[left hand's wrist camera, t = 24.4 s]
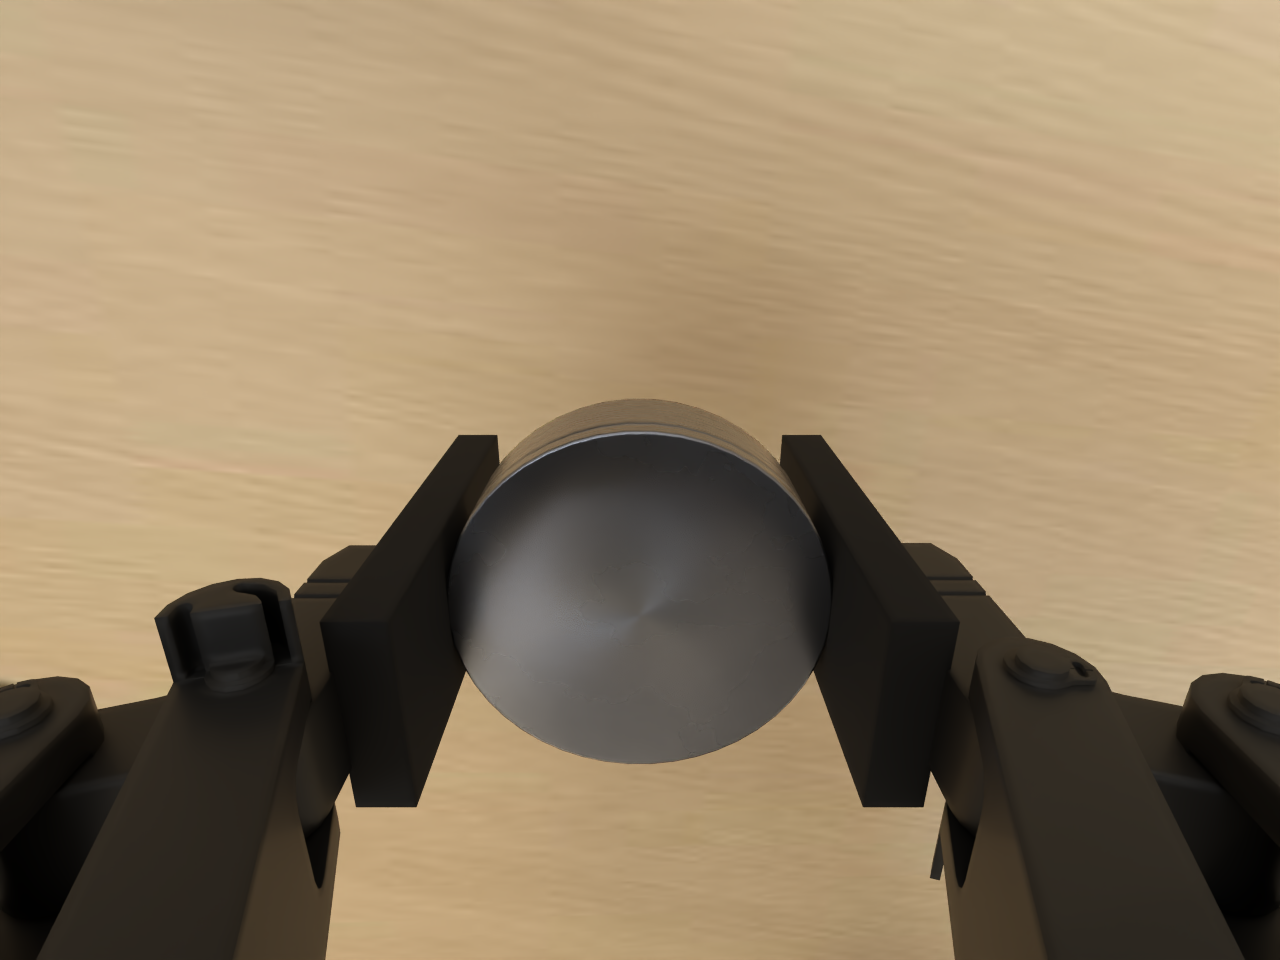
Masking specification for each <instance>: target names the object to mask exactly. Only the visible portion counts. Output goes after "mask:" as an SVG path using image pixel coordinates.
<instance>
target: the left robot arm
mask: <svg viewBox="0 0 1280 960" xmlns="http://www.w3.org/2000/svg"><path fill="white" fill-rule="evenodd" d="M499 465H500V463H499V450H498V438H497V435H458V437H457V438H456V439H455V441H454V442H453V443H452V445H451V446H450V448H449V449H448V450H447V452H446V453H445V454H444V456H443V457H442V458H441V460H440V461H439V462H438V464H437V465H436V466H435V468H434V469H433V470H432V472H431V473H430V474H429V476H428V477H427V478H426V480H425V481H424V482H423V484H422V485H421V486H420V488H419V489H418V490H417V492H416V493H415V494H414V496H413V497H412V498H411V500H410V501H409V502H408V504H407V505H406V506H405V508H404V509H403V510H402V512H401V513H400V514H399V516H398V517H397V518H396V520H395V521H394V522H393V524H392V525H391V527H390V528H389V529H388V531H387V532H386V533H385V535H384V536H383V537H382V539H381V540H380V541H379V543H378V544H377V545H349V546H348V547H346V548H344V549H342V550H341V551H339V552H337V553H336V554H334V555H332V556H331V557H329V558H327V559H326V560H324V561H323V562H322V563H321V564H320V565H319V566H318V567H317V569H316V570H315V571H314V572H313V573H312V574H311V576H310V577H309V578H308V579H307V583H304V584H303V585H302V586H301V587H300V588H299V589H298V591H297V592H296V593H295V594H294V598H291V595H290V590H289V588H287V587H286V586H285V585H283V584H282V583H280V582H279V581H274V580H269V579H263V578H250V579H235V580H230V581H226V582H221V583H216V584H212V585H209V586H206V587H203V588H201V589H198V590H195V591H192V592H190V593H187V594H185V595H184V596H182V597H180V598H179V599H177V600H175V601H173V602H172V603H170V604H168V605H167V606H166V607H165V608H164V609H163V610H162V611H161V612H160V613H159V614H158V615H157V616H156V617H155V618H154V619H155V622H156V626H157V629H158V632H159V636H160V639H161V642H162V646H163V649H164V652H165V656H166V659H167V662H168V666H169V669H170V672H171V676H172V679H173V682H174V683H173V685H172V687H171V689H170V691H169V693H168V695H167V696H163V697H159V698H154V699H149V700H144V701H139V702H134V703H129V704H124V705H119V706H113V707H108V708H103V709H97V706H96V704H95V701H94V698H93V695H92V692H91V690H90V687H89V686H88V685H87V684H85V683H84V682H82V681H81V680H79V679H77V678H68V677H59V676H57V677H49V678H42V679H30V680H26V681H22V682H17V684H15V685H14V684H11V685H8V686H5V687H2V688H0V960H325V957H326V949H327V940H328V932H329V924H330V915H331V907H332V898H333V890H334V881H335V873H336V864H337V856H338V848H339V839H340V828H339V821H338V816H337V811H336V806H335V801H336V799H337V797H338V795H339V793H340V791H341V789H342V787H343V785H344V783H345V781H346V779H347V777H348V775H349V774H350V779H351V784H352V789H353V794H354V799H355V804H356V807H417V804H418V802H419V799H420V796H421V793H422V791H423V788H424V785H425V782H426V780H427V777H428V774H429V771H430V769H431V766H432V763H433V760H434V758H435V755H436V752H437V749H438V747H439V744H440V741H441V738H442V736H443V733H444V730H445V727H446V725H447V722H448V719H449V716H450V714H451V711H452V708H453V705H454V702H455V700H456V697H457V694H458V691H459V689H460V686H461V683H462V680H463V678H464V675H465V672H466V669H465V668H464V666H463V664H462V662H461V659H460V657H459V655H458V652H457V650H456V648H455V645H454V642H453V638H452V634H451V627H450V619H449V611H448V602H447V578H448V573H449V568H450V563H451V558H452V555H453V552H454V549H455V547H456V544H457V541H458V538H459V536H460V534H461V532H462V530H463V528H464V527H465V525H466V523H467V521H468V519H469V517H470V515H471V513H472V511H473V509H474V508H475V506H476V504H477V502H478V500H479V498H480V496H481V494H482V492H483V490H484V489H485V487H486V485H487V483H488V481H489V479H490V477H491V476H492V474H493V473H494V471H495V470H496V469H497V467H498V466H499ZM780 466H781V467H782V468H783V470H784V471H785V472H786V474H787V475H788V477H789V479H790V481H791V483H792V484H793V486H794V488H795V490H796V492H797V494H798V496H799V498H800V499H801V501H802V503H803V505H804V507H805V509H806V511H807V513H808V515H809V517H810V518H811V520H812V522H813V524H814V526H815V528H816V530H817V532H818V534H819V536H820V538H821V540H822V543H823V546H824V549H825V552H826V554H827V557H828V561H829V566H830V572H831V577H832V589H833V593H832V606H831V615H830V623H829V631H828V635H827V639H826V642H825V646H824V648H823V651H822V653H821V655H820V658H819V660H818V662H817V664H816V667H815V668H814V670H813V671H814V673H815V676H816V679H817V682H818V684H819V687H820V690H821V693H822V695H823V698H824V701H825V704H826V706H827V709H828V712H829V715H830V717H831V720H832V723H833V726H834V728H835V731H836V734H837V737H838V740H839V742H840V745H841V748H842V751H843V753H844V756H845V759H846V762H847V764H848V767H849V770H850V773H851V775H852V778H853V781H854V784H855V786H856V789H857V792H858V795H859V797H860V800H861V803H862V806H863V807H924V802H925V797H926V792H927V787H928V782H929V777H930V772H932V774H933V776H934V778H935V780H936V782H937V784H938V786H939V788H940V790H941V792H942V794H943V796H944V798H945V800H946V802H945V806H944V811H943V816H942V820H941V825H940V830H939V834H938V839H937V844H936V849H935V853H934V858H933V863H932V869H931V875H930V878H932V879H936V880H940V877H941V873H942V868H943V865H944V871H945V879H946V888H947V896H948V905H949V913H950V922H951V930H952V938H953V947H954V955H955V960H1280V684H1278V683H1275V682H1272V681H1269V680H1267V681H1264V679H1261V678H1257V677H1252V676H1242V675H1234V674H1226V673H1218V674H1209V675H1202V676H1201V677H1199V678H1198V679H1196V680H1195V681H1193V682H1192V683H1191V685H1190V688H1189V691H1188V693H1187V696H1186V699H1185V702H1184V705H1183V706H1178V705H1173V704H1168V703H1163V702H1157V701H1152V700H1147V699H1142V698H1137V697H1132V696H1127V695H1122V694H1118V693H1114V692H1112V691H1111V689H1110V687H1109V685H1108V683H1107V681H1106V680H1105V679H1104V678H1103V676H1102V675H1101V674H1100V673H1099V672H1098V670H1097V669H1096V668H1095V667H1094V666H1093V665H1091V664H1090V663H1088V662H1087V661H1085V660H1084V659H1082V658H1081V657H1079V656H1078V655H1076V654H1074V653H1072V652H1070V651H1067V650H1065V649H1063V648H1060V647H1058V646H1056V645H1053V644H1050V643H1046V642H1042V641H1038V640H1033V639H1029V638H1025V636H1024V635H1023V634H1022V633H1021V632H1020V631H1019V630H1018V628H1017V627H1016V626H1015V625H1014V624H1013V623H1012V621H1011V620H1010V619H1009V618H1008V617H1007V616H1006V615H1005V613H1004V612H1003V611H1002V610H1001V609H1000V608H999V606H998V605H997V604H996V603H995V602H994V601H993V600H992V598H991V597H990V596H986V591H985V590H984V589H983V588H982V587H981V586H980V585H979V583H978V582H977V581H976V580H973V576H972V575H971V574H970V573H969V572H968V571H967V570H966V568H965V567H964V566H963V565H962V564H961V563H960V561H959V560H958V559H957V558H955V557H953V556H952V555H950V554H948V553H947V552H945V551H943V550H941V549H940V548H938V547H936V546H935V545H933V544H931V543H901V542H900V541H899V539H898V538H897V537H896V535H895V534H894V533H893V531H892V530H891V528H890V527H889V526H888V524H887V523H886V522H885V520H884V519H883V518H882V516H881V515H880V514H879V512H878V511H877V510H876V508H875V507H874V506H873V504H872V503H871V502H870V500H869V499H868V498H867V496H866V495H865V494H864V492H863V491H862V490H861V488H860V487H859V486H858V484H857V483H856V482H855V480H854V479H853V478H852V476H851V475H850V474H849V472H848V471H847V470H846V468H845V467H844V466H843V464H842V463H841V462H840V460H839V459H838V457H837V456H836V455H835V453H834V452H833V451H832V449H831V448H830V447H829V445H828V444H827V443H826V441H825V440H824V439H823V437H822V436H821V435H782V445H781V457H780Z"/></svg>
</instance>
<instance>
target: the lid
mask: <svg viewBox="0 0 1280 960" xmlns="http://www.w3.org/2000/svg"><path fill="white" fill-rule="evenodd" d="M832 593H833V589H832V577H831V572H830V566H829V561H828V557H827V554H826V552H825V549H824V546H823V543H822V540H821V538H820V536H819V534H818V532H817V530H816V528H815V526H814V524H813V522H812V520H811V518H810V517H809V515H808V513H807V511H806V509H805V507H804V505H803V503H802V501H801V499H800V498H799V496H798V494H797V492H796V490H795V488H794V486H793V484H792V483H791V481H790V479H789V477H788V475H787V474H786V472H785V471H784V470H783V468H782V467H781V466H780V464H779V463H778V462H777V460H776V459H775V458H774V457H773V456H772V455H771V454H770V453H769V452H768V451H767V450H766V449H765V448H764V447H763V446H762V445H761V444H760V443H759V442H758V441H757V440H756V439H754V438H753V437H752V436H750V435H749V434H748V433H746V432H745V431H744V430H742V429H741V428H739V427H738V426H736V425H734V424H732V423H731V422H729V421H727V420H725V419H724V418H722V417H720V416H717V415H715V414H712V413H710V412H707V411H705V410H702V409H700V408H697V407H693V406H689V405H685V404H681V403H677V402H671V401H663V400H656V399H624V400H616V401H608V402H602V403H598V404H594V405H590V406H587V407H583V408H579V409H577V410H574V411H572V412H569V413H567V414H565V415H562V416H560V417H557V418H556V419H554V420H552V421H550V422H549V423H547V424H545V425H543V426H542V427H540V428H538V429H537V430H536V431H534V432H533V433H532V434H530V435H529V436H528V437H526V438H525V439H524V440H522V441H521V442H520V443H519V444H518V445H517V446H516V447H515V448H514V449H513V450H512V451H511V452H510V453H509V454H508V455H507V456H506V457H505V458H504V459H503V461H502V462H501V463H500V465H499V466H498V467H497V469H496V470H495V471H494V473H493V474H492V476H491V477H490V479H489V481H488V483H487V485H486V487H485V489H484V490H483V492H482V494H481V496H480V498H479V500H478V502H477V504H476V506H475V508H474V509H473V511H472V513H471V515H470V517H469V519H468V521H467V523H466V525H465V527H464V528H463V530H462V532H461V534H460V536H459V538H458V541H457V544H456V547H455V549H454V552H453V555H452V558H451V563H450V568H449V573H448V578H447V602H448V611H449V619H450V627H451V634H452V638H453V642H454V645H455V648H456V650H457V652H458V655H459V657H460V659H461V662H462V664H463V666H464V668H465V669H466V671H467V673H468V674H469V676H470V678H471V679H472V681H473V682H474V684H475V685H476V687H477V688H478V689H479V690H480V692H481V693H482V694H483V695H484V697H485V698H486V699H487V700H488V701H489V702H490V703H491V704H492V705H493V706H494V707H495V708H496V709H497V710H498V711H499V712H500V713H501V714H502V715H503V716H504V717H506V718H507V719H508V720H510V721H511V722H512V723H514V724H515V725H516V726H518V727H519V728H520V729H522V730H523V731H525V732H527V733H528V734H530V735H532V736H534V737H535V738H537V739H539V740H540V741H542V742H545V743H547V744H549V745H551V746H554V747H556V748H558V749H560V750H563V751H566V752H569V753H572V754H576V755H579V756H582V757H586V758H591V759H596V760H600V761H605V762H615V763H624V764H655V763H665V762H674V761H679V760H684V759H689V758H693V757H697V756H700V755H704V754H707V753H710V752H713V751H716V750H719V749H721V748H723V747H726V746H728V745H730V744H732V743H735V742H737V741H739V740H741V739H742V738H744V737H746V736H747V735H749V734H751V733H753V732H754V731H756V730H758V729H759V728H760V727H762V726H763V725H764V724H766V723H767V722H768V721H770V720H771V719H772V718H774V717H775V716H776V715H777V714H778V713H779V712H780V711H781V710H782V709H783V708H784V707H785V706H786V705H788V704H789V703H790V702H791V701H792V699H793V698H794V697H795V696H796V694H797V693H798V692H799V691H800V689H801V688H802V687H803V686H804V684H805V683H806V681H807V680H808V678H809V676H810V675H811V673H812V671H813V670H814V668H815V667H816V664H817V662H818V660H819V658H820V655H821V653H822V651H823V648H824V646H825V642H826V639H827V635H828V631H829V623H830V615H831V606H832Z"/></svg>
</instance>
